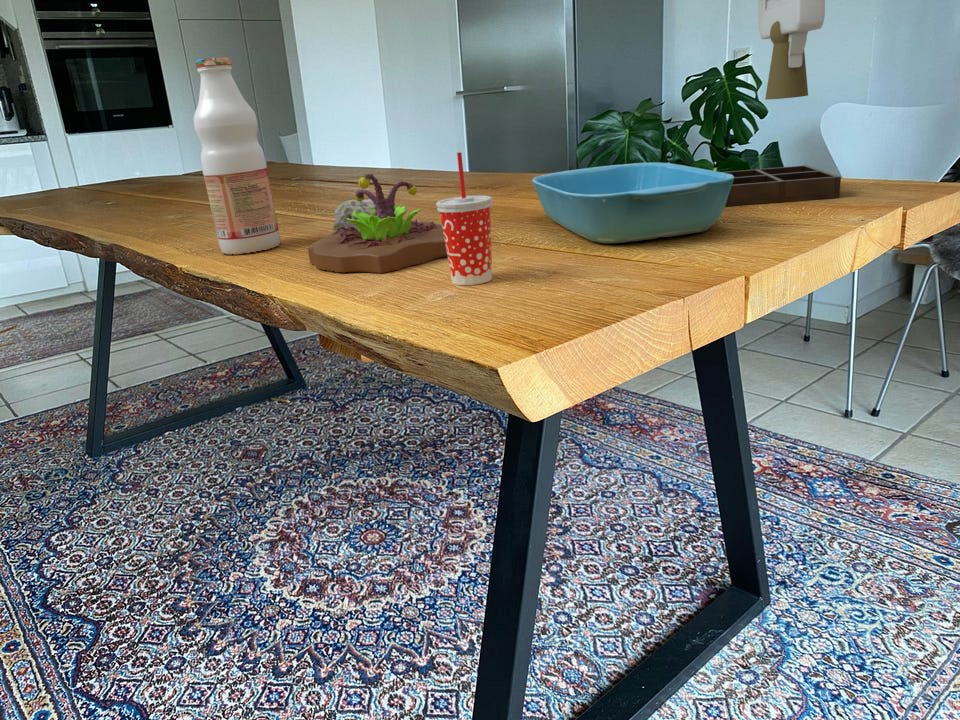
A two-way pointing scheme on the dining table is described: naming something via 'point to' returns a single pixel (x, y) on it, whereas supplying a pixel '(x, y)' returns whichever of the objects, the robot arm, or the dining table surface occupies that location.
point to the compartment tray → (782, 185)
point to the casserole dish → (634, 200)
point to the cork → (784, 70)
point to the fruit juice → (233, 163)
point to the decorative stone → (351, 212)
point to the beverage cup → (467, 235)
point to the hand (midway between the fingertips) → (788, 68)
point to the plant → (379, 237)
